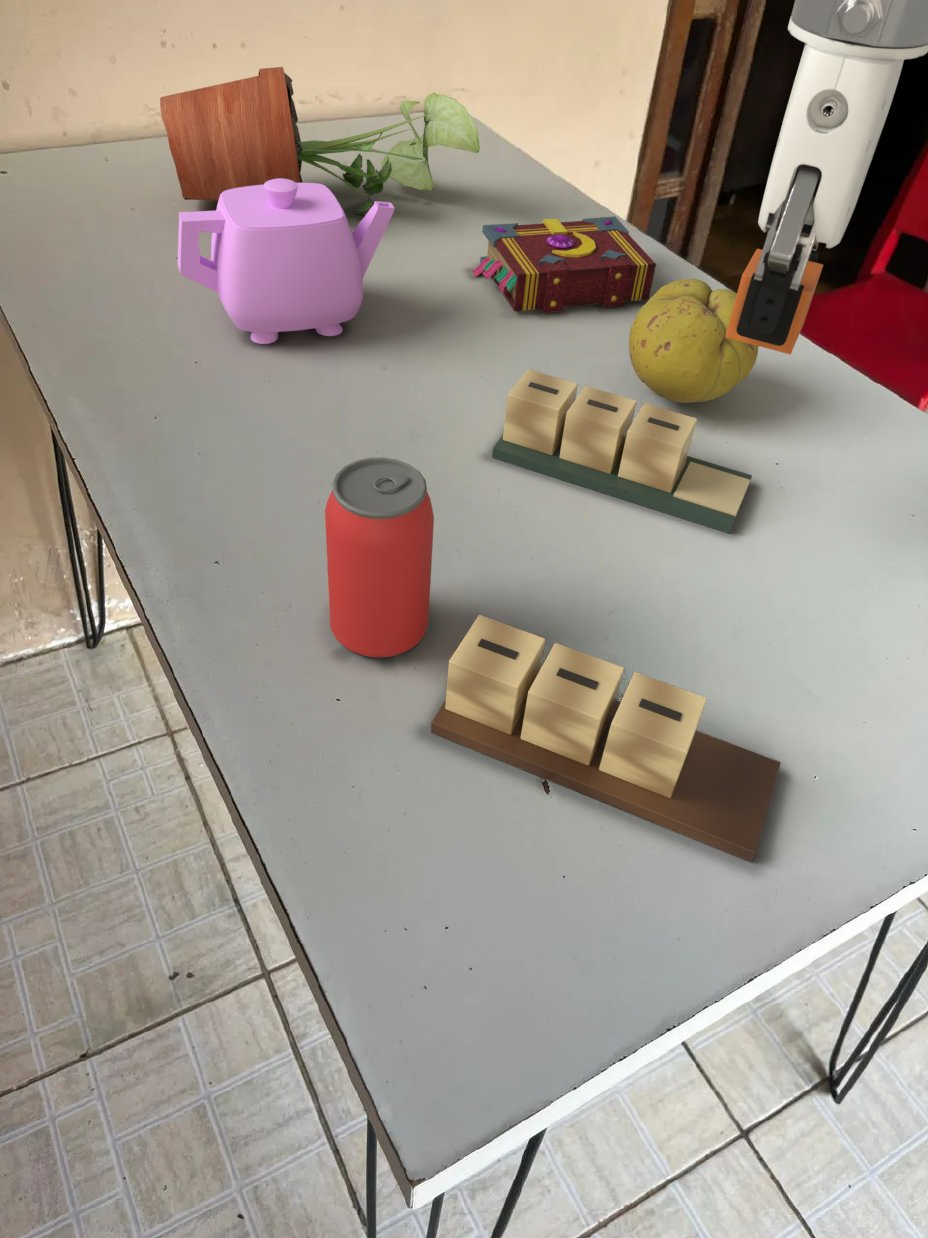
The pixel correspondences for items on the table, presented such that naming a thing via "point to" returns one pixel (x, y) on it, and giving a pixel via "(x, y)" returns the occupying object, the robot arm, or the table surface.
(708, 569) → the table surface
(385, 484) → the beer can
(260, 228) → the teapot
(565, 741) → the slotted cubes on board
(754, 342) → the orange slotted cube
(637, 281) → the decorative book
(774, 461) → the table surface
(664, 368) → the fruit
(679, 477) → the slotted cube rack
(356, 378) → the table surface
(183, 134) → the potted plant
